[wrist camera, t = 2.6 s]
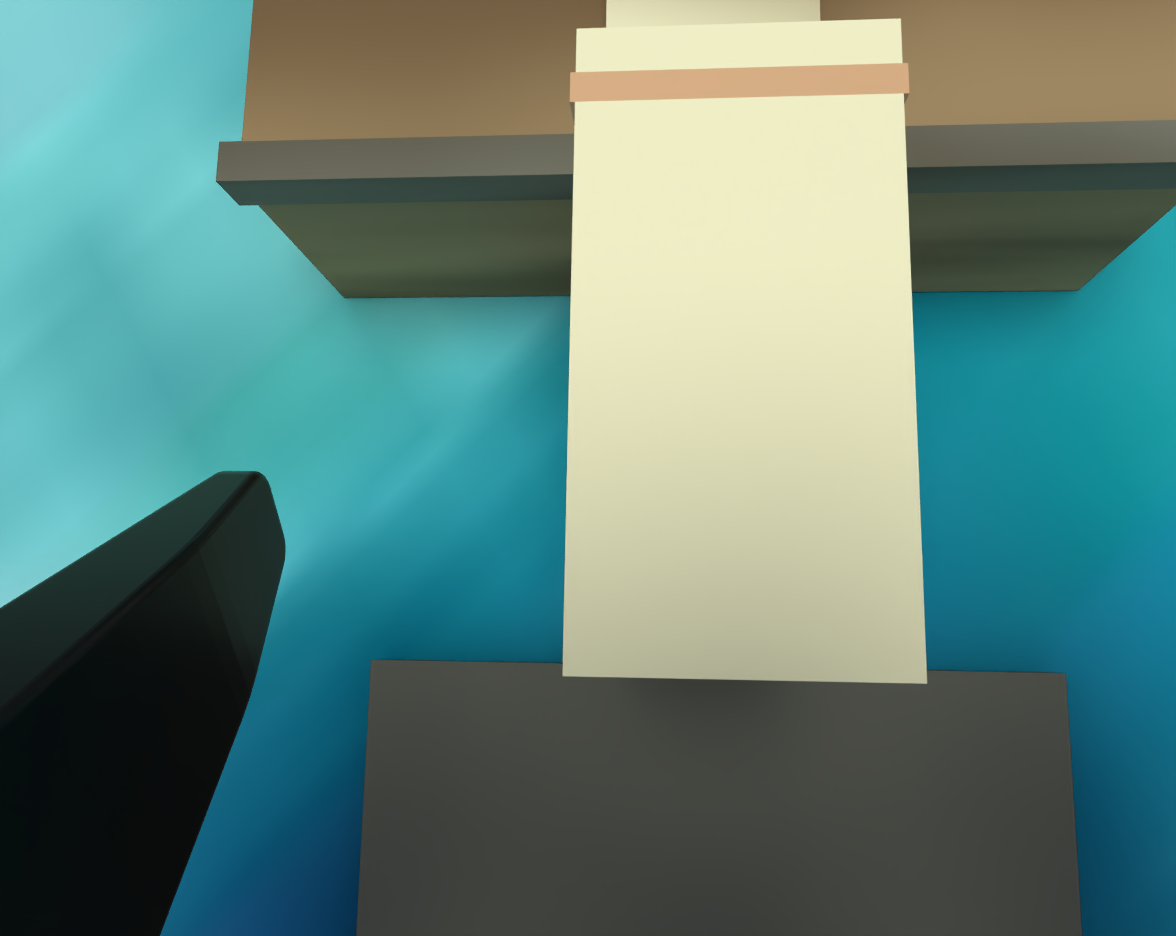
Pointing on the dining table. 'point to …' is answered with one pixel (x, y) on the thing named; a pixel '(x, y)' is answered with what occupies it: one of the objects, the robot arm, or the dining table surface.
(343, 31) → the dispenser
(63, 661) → the robot arm
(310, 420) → the dining table surface
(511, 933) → the mat
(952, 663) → the dining table surface
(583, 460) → the cream pillar
